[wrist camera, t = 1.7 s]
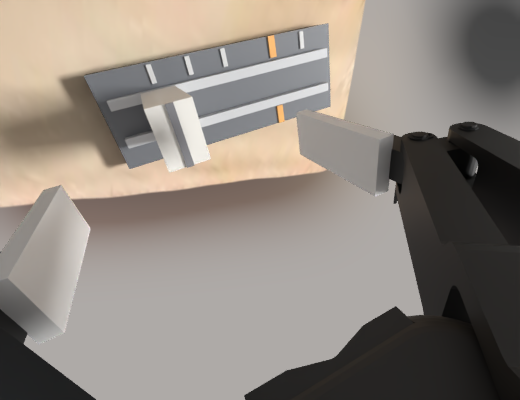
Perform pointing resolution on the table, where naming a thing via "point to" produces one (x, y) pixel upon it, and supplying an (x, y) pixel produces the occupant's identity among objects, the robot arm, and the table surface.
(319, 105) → the slider board
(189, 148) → the fader knob
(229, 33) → the table surface
